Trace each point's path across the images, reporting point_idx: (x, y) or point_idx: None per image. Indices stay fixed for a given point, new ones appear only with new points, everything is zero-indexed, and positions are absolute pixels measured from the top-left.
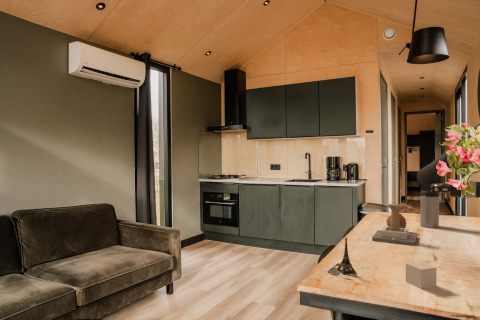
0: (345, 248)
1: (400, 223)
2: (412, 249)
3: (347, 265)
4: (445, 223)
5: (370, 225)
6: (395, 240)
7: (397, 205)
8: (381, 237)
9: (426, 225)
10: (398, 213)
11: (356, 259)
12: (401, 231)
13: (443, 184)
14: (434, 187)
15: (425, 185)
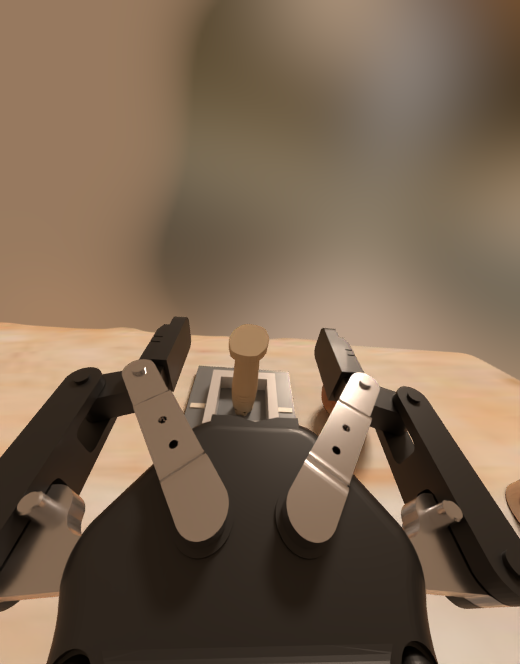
0: None
1: (331, 406)
2: (117, 463)
3: None
4: None
5: (360, 360)
6: (185, 411)
7: (234, 343)
8: (205, 381)
9: (515, 506)
10: (240, 368)
11: (20, 357)
12: (267, 417)
13: (168, 501)
14: (71, 395)
15: (325, 351)
